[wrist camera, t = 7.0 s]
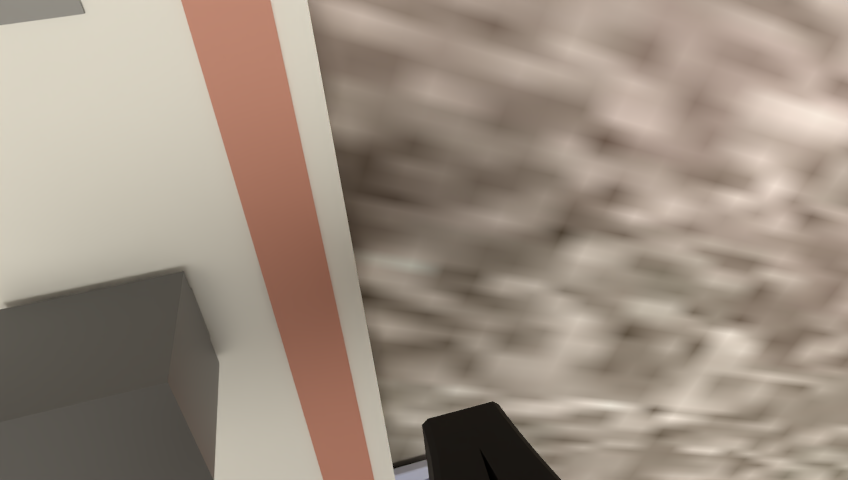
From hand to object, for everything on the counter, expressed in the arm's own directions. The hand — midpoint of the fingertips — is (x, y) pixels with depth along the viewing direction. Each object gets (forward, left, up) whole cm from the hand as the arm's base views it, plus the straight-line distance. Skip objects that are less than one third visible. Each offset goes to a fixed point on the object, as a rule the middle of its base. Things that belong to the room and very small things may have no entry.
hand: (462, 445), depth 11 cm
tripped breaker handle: (0, +7, -6) cm, 9 cm away
